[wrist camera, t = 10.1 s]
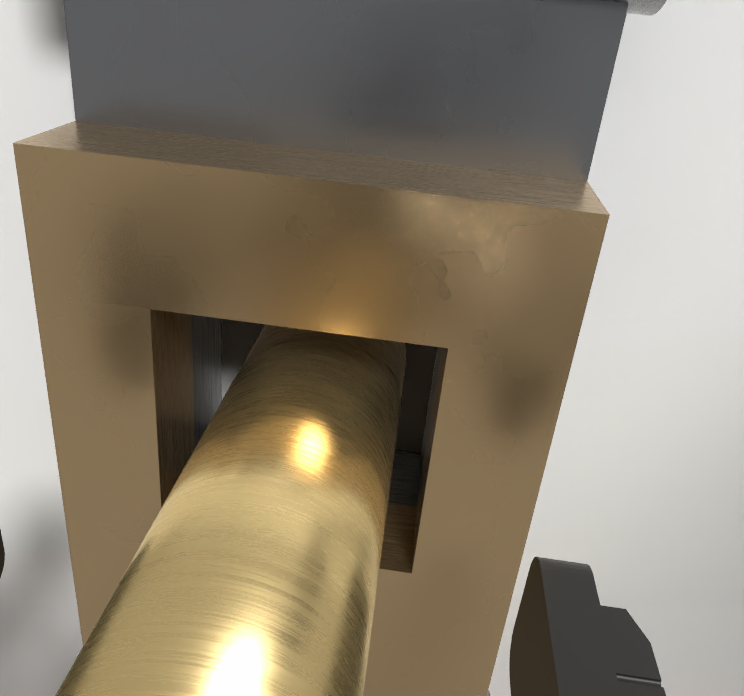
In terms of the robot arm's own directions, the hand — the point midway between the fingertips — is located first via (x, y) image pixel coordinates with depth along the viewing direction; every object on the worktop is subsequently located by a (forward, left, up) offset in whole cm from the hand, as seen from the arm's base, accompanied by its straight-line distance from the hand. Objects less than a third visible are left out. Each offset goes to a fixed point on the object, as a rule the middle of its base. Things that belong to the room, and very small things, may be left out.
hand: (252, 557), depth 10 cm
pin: (0, 0, -7) cm, 7 cm away
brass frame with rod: (0, 0, -7) cm, 7 cm away
